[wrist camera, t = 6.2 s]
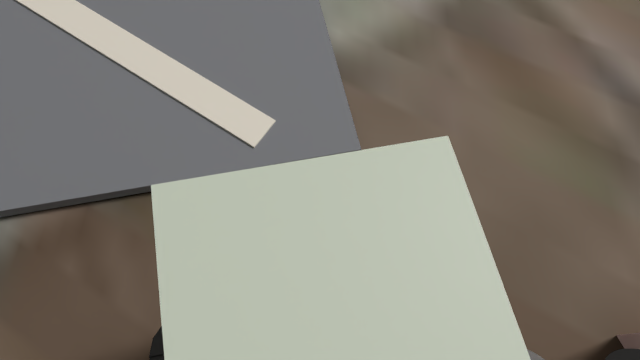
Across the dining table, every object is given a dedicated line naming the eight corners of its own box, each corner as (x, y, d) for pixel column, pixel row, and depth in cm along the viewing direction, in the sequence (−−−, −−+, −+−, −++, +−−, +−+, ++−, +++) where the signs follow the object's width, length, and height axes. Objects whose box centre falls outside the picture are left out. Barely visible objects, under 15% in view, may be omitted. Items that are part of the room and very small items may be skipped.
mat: (-138, 241, 17) (-155, 236, 17) (-90, -39, 23) (-101, -51, 22) (359, 155, 20) (361, 148, 19) (294, -75, 26) (294, -87, 25)
